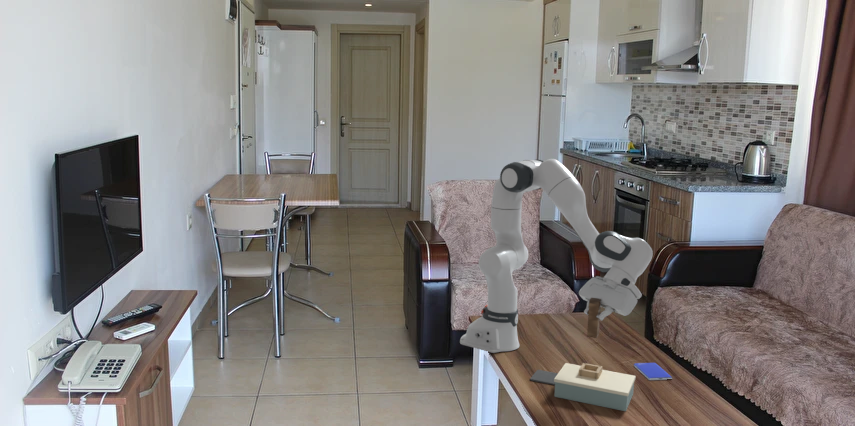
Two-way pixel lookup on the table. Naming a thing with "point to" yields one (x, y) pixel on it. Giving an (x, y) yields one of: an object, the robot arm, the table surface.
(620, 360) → the table surface
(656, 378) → the hard drive
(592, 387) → the cream and teal block
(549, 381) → the key mat
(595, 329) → the walnut key
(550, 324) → the table surface
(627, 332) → the table surface
